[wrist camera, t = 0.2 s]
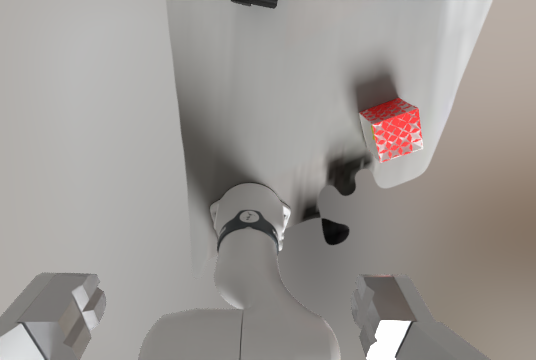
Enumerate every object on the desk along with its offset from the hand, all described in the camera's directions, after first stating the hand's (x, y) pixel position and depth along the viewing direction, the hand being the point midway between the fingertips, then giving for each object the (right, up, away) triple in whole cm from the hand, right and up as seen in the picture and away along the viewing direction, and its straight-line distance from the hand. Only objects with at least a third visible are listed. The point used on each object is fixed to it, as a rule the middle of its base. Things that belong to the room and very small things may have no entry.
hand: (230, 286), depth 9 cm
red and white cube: (+24, +15, +48) cm, 56 cm away
